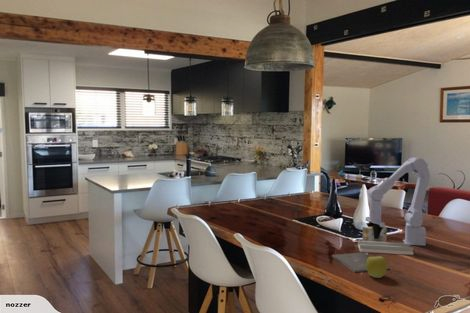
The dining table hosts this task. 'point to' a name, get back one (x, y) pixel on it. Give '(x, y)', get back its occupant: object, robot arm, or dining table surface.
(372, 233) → the oak frame
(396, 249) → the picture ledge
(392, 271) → the dining table surface
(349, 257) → the play button award
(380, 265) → the apple
